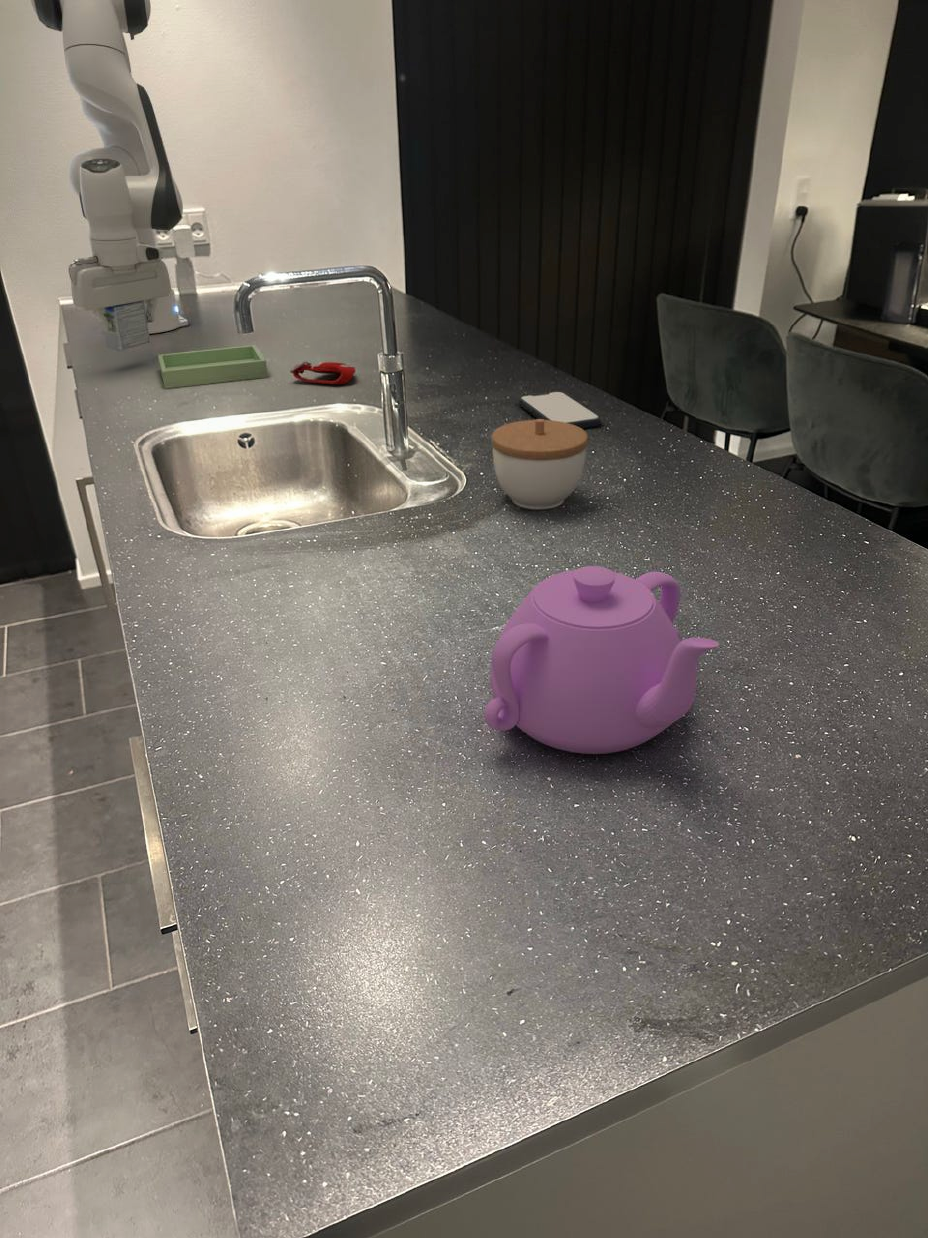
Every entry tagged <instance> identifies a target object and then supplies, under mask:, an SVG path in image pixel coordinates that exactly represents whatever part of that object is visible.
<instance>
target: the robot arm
mask: <svg viewBox="0 0 928 1238" xmlns="http://www.w3.org/2000/svg"><path fill="white" fill-rule="evenodd" d="M30 3H31V6H32V8H33V11H34V12H35V14H36V16H37V18H38V21H39V22H40V23H41V24H43V25H44V26H45V27H46V28H47V29H50V30H54V31H57V32H62V45H63V53H64V60H65V67H66V71H67V75H68V78H69V82H70V84H71V86H72V88H73V89H74V91H75V92H76V93H77V94H78V96H80V97H79V98H80V103H81V110H82V113H83V115H84V116H85V118H86V119H87V120H88V121H89V122H90V123H92V124H93V126H94V127H95V128H96V130H97V132H98V134H99V137H100V139H101V141H102V145H103V146H102V147H93V148H88V149H86V150H84V151H82V152H80V153H78V154H75V155H74V156H73V157H72V158H71V159H70V161H69V164H68V168H67V169H68V170H67V176H68V177H67V178H68V180H69V184H70V187H71V188H72V190H73V191H74V193H75V194H76V195H77V196H78V198H79V201H80V202H79V203H80V207H81V213H82V216H83V217H84V219H85V220H86V221H87V224H88V239H89V244H90V250H91V255H92V256H87V257H84V258H75V259H73V261H72V262H71V263H70V264H69V266H68V275H69V280H70V286H71V287H70V288H71V297H72V298H71V299H72V303H73V305H74V306H75V307H76V308H77V309H79V310H81V311H85V312H86V311H87V312H89V311H92V314H93V315H94V316H95V317H96V318H97V320H98V321H99V322H100V327H101V330H102V331H103V332H104V331H110V330H113V327H112V321H109V320H107V319H106V318H105V317H104V315H103V314H104V313H105V309H104V308H105V307H111V306H116V305H122V304H127V303H133V302H138V301H144V304H145V311H146V317H147V324H148V331H149V335H150V334H158V333H163V332H168V331H173V330H175V329H178V328H181V327H185V326H189V321H188V319H186V318H184V317H183V316H181V315H180V313H179V307H178V304H177V299H176V293H175V290H174V289H172V284H171V279H170V278H171V277H170V274H169V270H168V266H167V265H166V263H165V261H163V259H164V251H163V249H162V248H160V247H159V246H158V240H157V235H156V231H168V232H169V231H171V230H172V229H174V228H176V227H177V225H178V224H179V223H180V222H181V221H182V219H183V214H184V203H183V200H182V196H181V193H180V190H179V188H178V186H177V183H176V181H175V178H174V176H173V174H172V170H171V167H170V166H171V165H170V161H169V158H168V155H167V152H166V149H165V144H164V141H163V138H162V134H161V129H160V127H159V124H158V123H159V122H158V120H157V117H156V114H155V111H154V107H153V104H152V101H151V99H150V96H149V94H148V92H147V90H146V89H145V86H143V85H141V84H140V83H137V82H136V81H135V79H134V77H133V74H132V67H131V66H132V65H131V60H130V56H129V55H130V54H129V51H128V46H127V42H126V39H125V35H124V33H125V34H129V37H130V41H133V40H135V36H137V35H139V34H142V33H143V32H144V31H145V29H146V28H147V27H148V26H149V20H150V17H151V13H152V11H151V9H152V8H151V0H30Z"/></svg>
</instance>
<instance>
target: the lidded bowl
mask: <svg viewBox="0 0 928 1238" xmlns="http://www.w3.org/2000/svg"><path fill="white" fill-rule="evenodd" d="M588 442H589V436H588V433H587V432H586V430H584V428H583V429H582V428H580V427H578V426H575V425H572V424H569V423H565V422H560V421H552V420H544V419H537V418H536V419H528V420H526V419H525V420H518V421H513V422H509V423H506V424H503V425H501V426H499V427H497V428H495V430H493V432H492V434H491V446H492V463H493V471H494V474H495V478H496V480H497V483H498V485H499V486H500V488H501V490H502V491H503V492H504V494H506V495H507V496H508V498H510V499H511V502H512V503H513V504H515V505H516V506H518V507H520V508H523V509H528V510H549V509H550V510H551V509H554V508H557V507H559V506H561V505H562V504H564V502H565V500H566V499H567V498H569V496H571V494H572V493H573V492H575V490H576V488H577V487H578V485H579V484H580V482H581V480H582V477H583V473H584V470H585V463H586V457H587V448H588Z"/></svg>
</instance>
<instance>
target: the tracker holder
mask: <svg viewBox="0 0 928 1238" xmlns="http://www.w3.org/2000/svg"><path fill="white" fill-rule="evenodd" d="M305 371H309V372H313V373H316V374H324V375H339V377H338V378H337V379H335V380H320V379H310V378H306V377H303V376H301V375H300V374H304V373H305ZM289 373H290V374H292V375H293V377H294V378H296V379H297V380H300V381H303V382H306V383H314V384H325V385H345V384H347V383H349V382H350V381H351V379H352V378H353V376H354V374H355V373H356V367H354V366H349V365H347V364H346V363H344V362H339V361H326V362H322V363H320V364H319V365H314V366H312V362H311V361H307V360H304V361H302V362H300V363H298V364H296V365H295V366H294V367H292V368H291V369H290V370H289Z"/></svg>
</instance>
